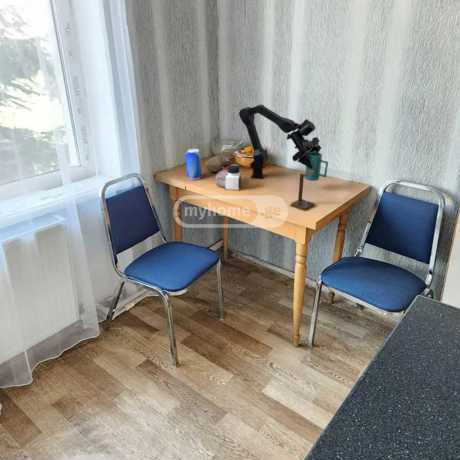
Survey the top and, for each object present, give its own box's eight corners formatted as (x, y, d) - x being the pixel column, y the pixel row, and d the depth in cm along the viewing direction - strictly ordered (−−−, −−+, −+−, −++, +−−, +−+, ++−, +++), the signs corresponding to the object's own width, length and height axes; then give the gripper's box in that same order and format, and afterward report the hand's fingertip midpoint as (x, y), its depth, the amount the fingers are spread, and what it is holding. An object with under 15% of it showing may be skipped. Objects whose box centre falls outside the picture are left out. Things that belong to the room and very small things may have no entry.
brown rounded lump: (215, 164, 248) (196, 166, 232) (218, 152, 246) (199, 154, 229) (232, 172, 243) (213, 174, 226) (235, 160, 240) (217, 161, 223)
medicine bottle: (238, 190, 205) (238, 168, 200) (225, 189, 206) (225, 167, 201) (241, 185, 211) (241, 164, 206) (228, 184, 212) (228, 163, 207)
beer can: (204, 176, 225) (203, 149, 218) (198, 181, 218) (197, 153, 211) (190, 174, 228) (189, 147, 221) (184, 179, 220) (182, 151, 214)
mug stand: (290, 205, 187) (292, 176, 181) (309, 196, 197) (312, 168, 191) (304, 210, 182) (306, 181, 176) (323, 200, 192) (326, 172, 186)
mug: (302, 178, 205) (304, 153, 199) (310, 175, 209) (313, 151, 204) (321, 184, 197) (324, 159, 192) (328, 181, 202) (332, 156, 197)
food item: (228, 189, 206) (228, 171, 202) (214, 187, 209) (214, 169, 205) (238, 181, 217) (238, 164, 213) (225, 179, 220) (225, 162, 216)
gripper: (298, 135, 191) (316, 162, 189) (320, 129, 203) (336, 154, 201) (285, 148, 200) (301, 174, 197) (306, 141, 212) (321, 165, 209)
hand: (315, 166), depth 201 cm, fingers closed on mug, 7 cm apart
